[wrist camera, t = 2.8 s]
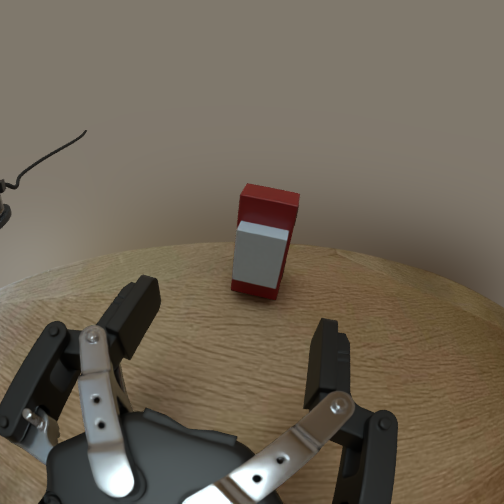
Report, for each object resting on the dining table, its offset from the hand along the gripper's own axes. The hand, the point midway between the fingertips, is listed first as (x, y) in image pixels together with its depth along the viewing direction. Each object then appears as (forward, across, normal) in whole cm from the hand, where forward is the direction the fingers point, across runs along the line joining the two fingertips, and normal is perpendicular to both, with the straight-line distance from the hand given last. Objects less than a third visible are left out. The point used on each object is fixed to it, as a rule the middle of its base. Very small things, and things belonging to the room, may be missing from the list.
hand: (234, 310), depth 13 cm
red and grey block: (+11, 0, +9) cm, 14 cm away
